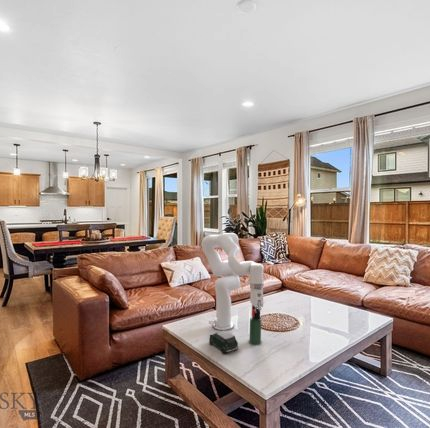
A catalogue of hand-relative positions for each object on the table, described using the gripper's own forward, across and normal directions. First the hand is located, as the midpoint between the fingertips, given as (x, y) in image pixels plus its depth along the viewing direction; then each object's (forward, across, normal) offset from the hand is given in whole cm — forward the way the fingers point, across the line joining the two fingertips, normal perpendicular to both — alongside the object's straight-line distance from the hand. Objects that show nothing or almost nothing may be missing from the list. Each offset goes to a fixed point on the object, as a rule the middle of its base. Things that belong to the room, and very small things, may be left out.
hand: (255, 317), depth 168 cm
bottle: (+14, 0, 0) cm, 14 cm away
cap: (-1, 0, 0) cm, 1 cm away
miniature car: (+15, 0, +19) cm, 24 cm away
